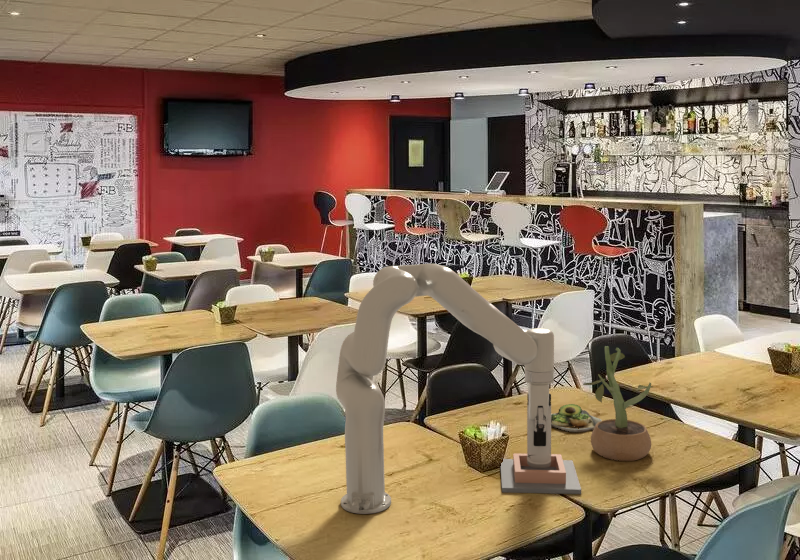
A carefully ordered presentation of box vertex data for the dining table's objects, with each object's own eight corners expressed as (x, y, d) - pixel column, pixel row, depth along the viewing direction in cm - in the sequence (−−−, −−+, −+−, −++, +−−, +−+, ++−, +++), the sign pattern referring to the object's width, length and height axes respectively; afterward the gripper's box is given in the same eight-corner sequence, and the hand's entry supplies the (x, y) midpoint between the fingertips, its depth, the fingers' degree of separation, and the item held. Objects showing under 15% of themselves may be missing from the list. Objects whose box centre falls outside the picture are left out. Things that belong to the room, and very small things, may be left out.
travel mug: (526, 468, 207) (526, 395, 204) (527, 459, 213) (527, 388, 210) (550, 469, 205) (551, 396, 202) (551, 460, 212) (551, 389, 209)
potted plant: (666, 456, 223) (669, 354, 219) (615, 467, 216) (617, 361, 212) (616, 432, 244) (618, 338, 239) (567, 441, 237) (568, 344, 233)
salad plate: (619, 429, 248) (619, 415, 247) (575, 439, 240) (575, 424, 239) (578, 412, 265) (578, 399, 264) (535, 421, 256) (536, 408, 256)
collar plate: (581, 494, 199) (581, 478, 198) (502, 492, 201) (502, 476, 201) (572, 464, 219) (572, 450, 218) (500, 462, 221) (500, 448, 220)
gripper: (523, 367, 215) (522, 430, 217) (526, 384, 198) (526, 452, 200) (550, 367, 214) (550, 430, 217) (556, 384, 197) (556, 453, 200)
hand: (538, 440), depth 208 cm, fingers closed on travel mug, 6 cm apart
